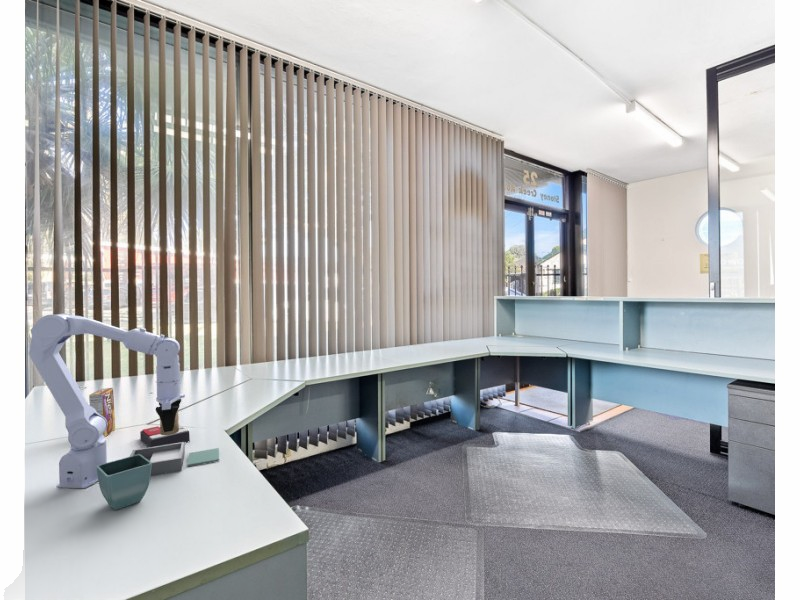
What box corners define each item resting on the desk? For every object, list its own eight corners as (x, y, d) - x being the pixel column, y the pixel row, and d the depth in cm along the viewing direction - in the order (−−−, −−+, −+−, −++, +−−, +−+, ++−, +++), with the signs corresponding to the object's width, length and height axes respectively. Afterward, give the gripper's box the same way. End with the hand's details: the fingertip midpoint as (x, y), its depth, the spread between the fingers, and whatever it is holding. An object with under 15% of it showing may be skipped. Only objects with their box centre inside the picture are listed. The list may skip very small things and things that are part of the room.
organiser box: (123, 481, 98) (123, 468, 98) (133, 462, 110) (133, 449, 110) (181, 470, 104) (181, 458, 104) (184, 453, 116) (184, 441, 116)
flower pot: (140, 489, 95) (140, 453, 94) (153, 500, 89) (152, 462, 89) (96, 504, 88) (95, 465, 88) (107, 518, 82) (106, 476, 82)
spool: (172, 435, 106) (171, 413, 106) (156, 435, 106) (156, 413, 106) (182, 429, 111) (181, 408, 111) (167, 429, 111) (167, 408, 111)
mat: (187, 466, 107) (187, 464, 107) (189, 454, 115) (189, 452, 115) (219, 461, 110) (219, 459, 110) (218, 449, 118) (218, 447, 118)
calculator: (176, 421, 136) (189, 428, 126) (176, 433, 136) (190, 442, 126) (139, 429, 128) (150, 437, 118) (140, 441, 128) (151, 452, 118)
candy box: (101, 430, 137) (100, 388, 137) (115, 429, 138) (114, 387, 138) (89, 439, 128) (88, 394, 128) (104, 438, 130) (103, 393, 129)
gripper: (182, 384, 104) (183, 434, 104) (186, 374, 117) (187, 418, 117) (152, 387, 100) (153, 438, 101) (159, 377, 114) (160, 422, 114)
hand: (169, 428), depth 109 cm, fingers closed on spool, 4 cm apart
